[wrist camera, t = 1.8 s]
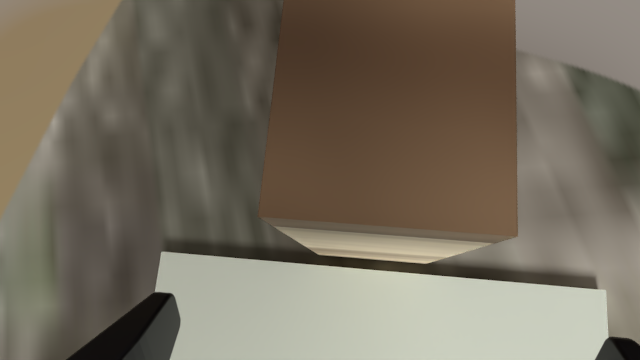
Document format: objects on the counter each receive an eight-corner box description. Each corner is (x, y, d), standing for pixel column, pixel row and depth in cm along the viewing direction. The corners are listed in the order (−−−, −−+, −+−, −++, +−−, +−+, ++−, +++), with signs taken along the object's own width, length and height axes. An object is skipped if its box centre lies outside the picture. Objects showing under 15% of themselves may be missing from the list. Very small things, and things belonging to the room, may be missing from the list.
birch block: (425, 263, 20) (517, 236, 8) (318, 254, 21) (257, 216, 9) (430, 140, 22) (514, -40, 10) (329, 135, 22) (288, -42, 10)
